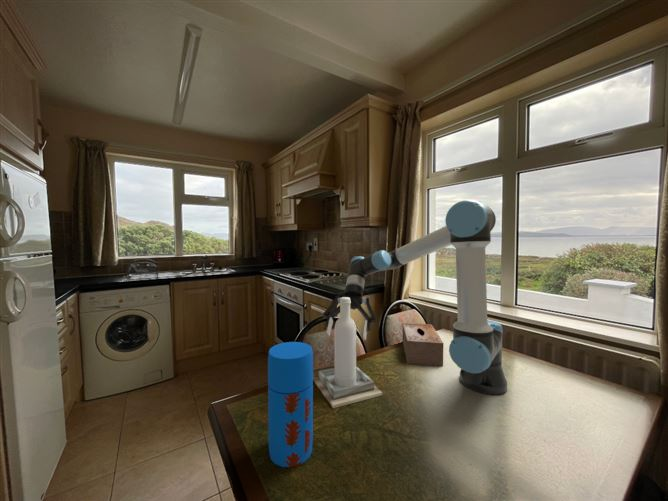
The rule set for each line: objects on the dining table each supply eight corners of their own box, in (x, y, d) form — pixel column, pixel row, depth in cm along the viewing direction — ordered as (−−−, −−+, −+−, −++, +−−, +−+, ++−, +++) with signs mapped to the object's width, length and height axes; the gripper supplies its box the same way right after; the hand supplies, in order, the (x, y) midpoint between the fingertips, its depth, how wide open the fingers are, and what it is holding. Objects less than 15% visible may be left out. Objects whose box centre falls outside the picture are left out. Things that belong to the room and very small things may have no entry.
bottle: (359, 385, 93) (359, 299, 92) (338, 389, 90) (338, 300, 90) (351, 374, 100) (351, 295, 100) (331, 377, 98) (331, 296, 97)
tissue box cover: (402, 342, 139) (402, 322, 139) (431, 343, 136) (431, 324, 136) (407, 364, 113) (407, 340, 113) (443, 366, 111) (443, 343, 111)
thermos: (272, 435, 71) (271, 342, 70) (312, 432, 72) (312, 340, 71) (265, 469, 60) (264, 360, 59) (312, 466, 61) (312, 358, 60)
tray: (382, 395, 90) (382, 383, 90) (332, 408, 83) (332, 395, 82) (354, 369, 108) (354, 359, 108) (312, 378, 101) (312, 367, 101)
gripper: (385, 295, 110) (381, 344, 96) (327, 292, 117) (316, 337, 103) (384, 284, 105) (379, 335, 91) (323, 281, 112) (311, 328, 98)
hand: (345, 336), depth 97 cm, fingers open, 13 cm apart
